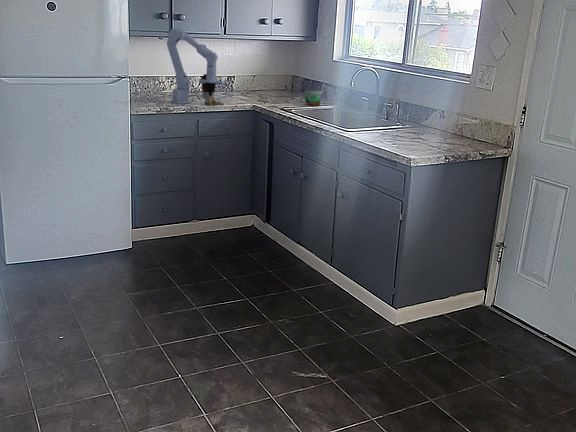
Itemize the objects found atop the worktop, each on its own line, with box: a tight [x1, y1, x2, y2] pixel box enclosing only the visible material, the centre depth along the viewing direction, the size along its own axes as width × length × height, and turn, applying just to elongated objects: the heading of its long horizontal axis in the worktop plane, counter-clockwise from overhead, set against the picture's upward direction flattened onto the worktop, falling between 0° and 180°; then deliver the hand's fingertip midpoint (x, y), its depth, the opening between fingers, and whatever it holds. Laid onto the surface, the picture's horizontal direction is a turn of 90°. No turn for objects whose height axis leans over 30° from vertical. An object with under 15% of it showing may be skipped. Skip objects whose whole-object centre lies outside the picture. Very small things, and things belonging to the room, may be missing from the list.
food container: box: [303, 89, 323, 107], centre depth 421 cm, size 12×6×10 cm, turn 105°
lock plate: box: [203, 98, 225, 107], centre depth 400 cm, size 11×6×4 cm, turn 131°
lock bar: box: [206, 97, 217, 102], centre depth 399 cm, size 6×2×2 cm, turn 128°
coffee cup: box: [200, 73, 218, 99], centre depth 421 cm, size 10×10×15 cm
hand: (210, 95), depth 396 cm, fingers closed
